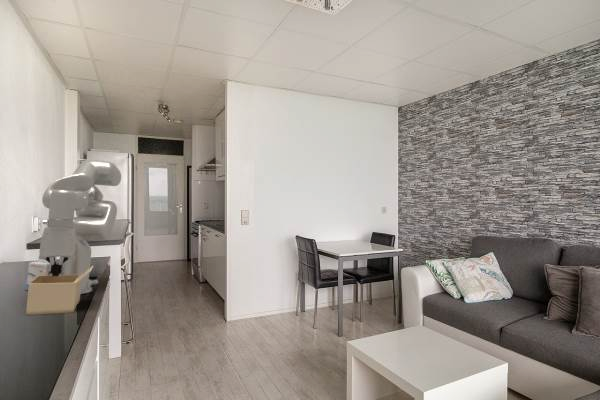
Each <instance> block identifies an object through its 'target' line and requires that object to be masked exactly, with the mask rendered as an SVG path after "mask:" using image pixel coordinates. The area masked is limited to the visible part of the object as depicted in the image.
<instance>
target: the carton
mask: <svg viewBox="0 0 600 400" xmlns="http://www.w3.org/2000/svg"><path fill="white" fill-rule="evenodd" d="M80 277H81V275H63V274H59V276H52V275H40V276H39V277H38V278H36V279H35V280H34V281H32V282H31V283H30V284H29V289H28V291H27V300H26V301H27V302H26V311H25V316H31V315H47V314H48V315H49V314H50V315H51V314H65V313H66V314H69V313H74V312H75V310H76V309H77V307H76V306H78V305H79V303H80V301H81V294H80V292H81V281H82V280H81V281H79V282H78V283H77V281H78V279H79V278H80ZM77 304H78V305H77Z"/></svg>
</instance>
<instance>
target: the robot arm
mask: <svg viewBox="0 0 600 400" xmlns="http://www.w3.org/2000/svg"><path fill="white" fill-rule="evenodd" d="M121 180H122V173H121V171H120V169H119V168H118V167H117V165H116V164H115V163H113V162H111V161H106V160H96V159H85V160H83V161H81V162H80V163H79V165H77V167H76V169H75V170H74V172H73V173H72V174H71V175H67V176H64V177H61V178H58V179H56V180H54V181H53V182H51V183H50V184H49V185H48V187H47V188H46V189H45V191H44V193H43V196H42V199H41V200H42V204H43V206H44V208H46V209H48V217H47V219H46V220H44V219H43V220H42V224H43V225H46V227H44V229H43V230H42V235H41V239H40V244H39V245H40V246H39V253H38V260H39V259H42V260H47V261H48V262H49V263H50V264H51V274H52V276H59V275H82V274H83V273H85V272H86V271H87V270H88V269H89V268H90V267H91V260H92V247H91V246H90V245H89V242H87V241H88V240H91V241H106V240H108V239H110V237H111V235H112V233H113V229H114V225H115V223H116V218H117V215H118V214H117V213H118V208H117V207H118V206H117V204H116V203H115V202H114V201H111V200H103V198H104V195H103V193H102V191H101V190H100V189H99V188H98V187H97V186H107V187H117V186H119V185H120V183H121V182H122V181H121ZM96 185H97V186H96ZM55 257H59V258H58V262H57V259H56V260H55ZM98 284H99V280H98V279H90V273H88V274H87V275H86V276H85V277H84V278H83V279H82V281H81V292H80V295H84V294H88V293H91V292H92V291H93V287H92V285H98Z"/></svg>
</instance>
